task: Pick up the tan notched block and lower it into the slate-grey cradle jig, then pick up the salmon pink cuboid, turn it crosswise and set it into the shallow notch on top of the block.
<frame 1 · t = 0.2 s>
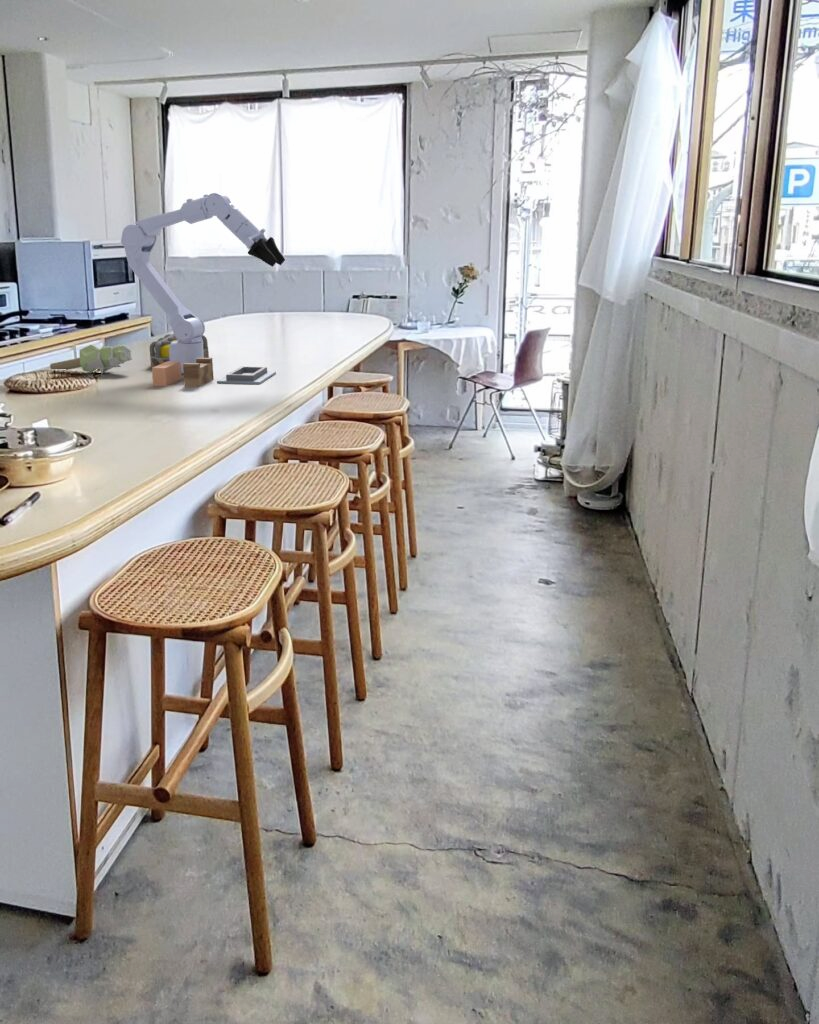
hand: (278, 263, 234), 31 cm above the table, fingers open, 7 cm apart
salmon pink cuboid: (167, 382, 232), on the table
decorative object: (92, 373, 244), on the table
cage light: (181, 363, 266), on the table
tan notched block: (199, 383, 231), on the table
jig: (247, 378, 238), on the table
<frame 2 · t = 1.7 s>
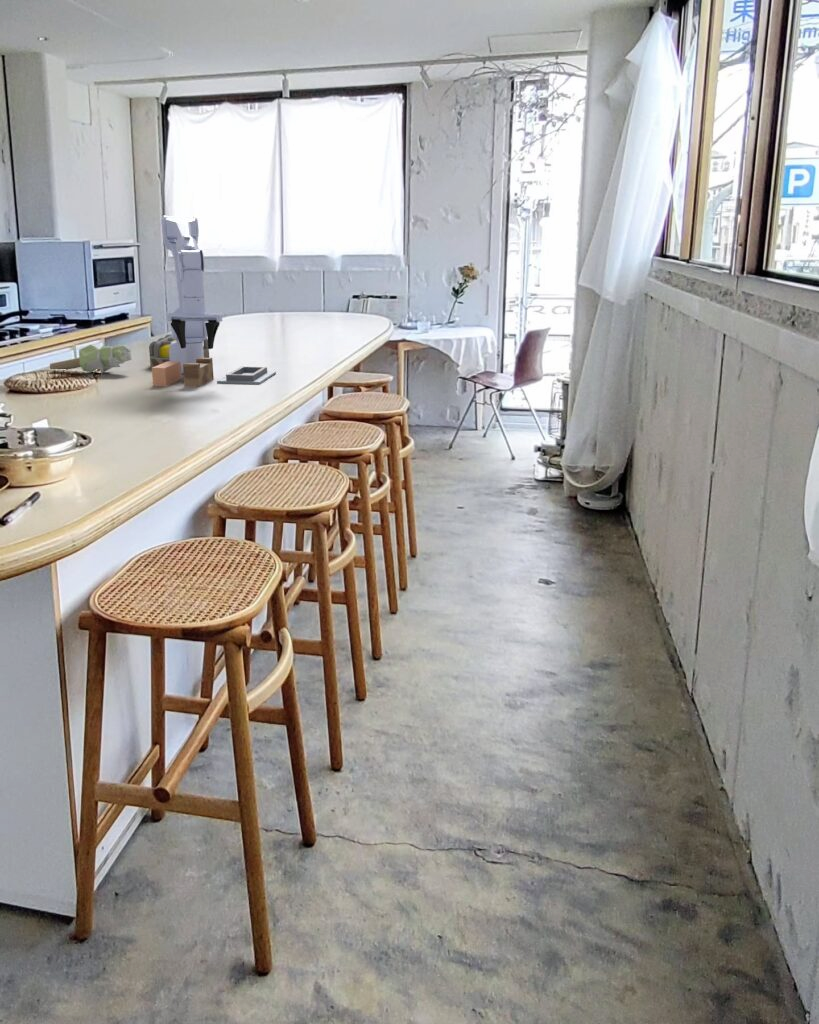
hand: (197, 348, 228), 9 cm above the table, fingers open, 7 cm apart
nothing on the table moved.
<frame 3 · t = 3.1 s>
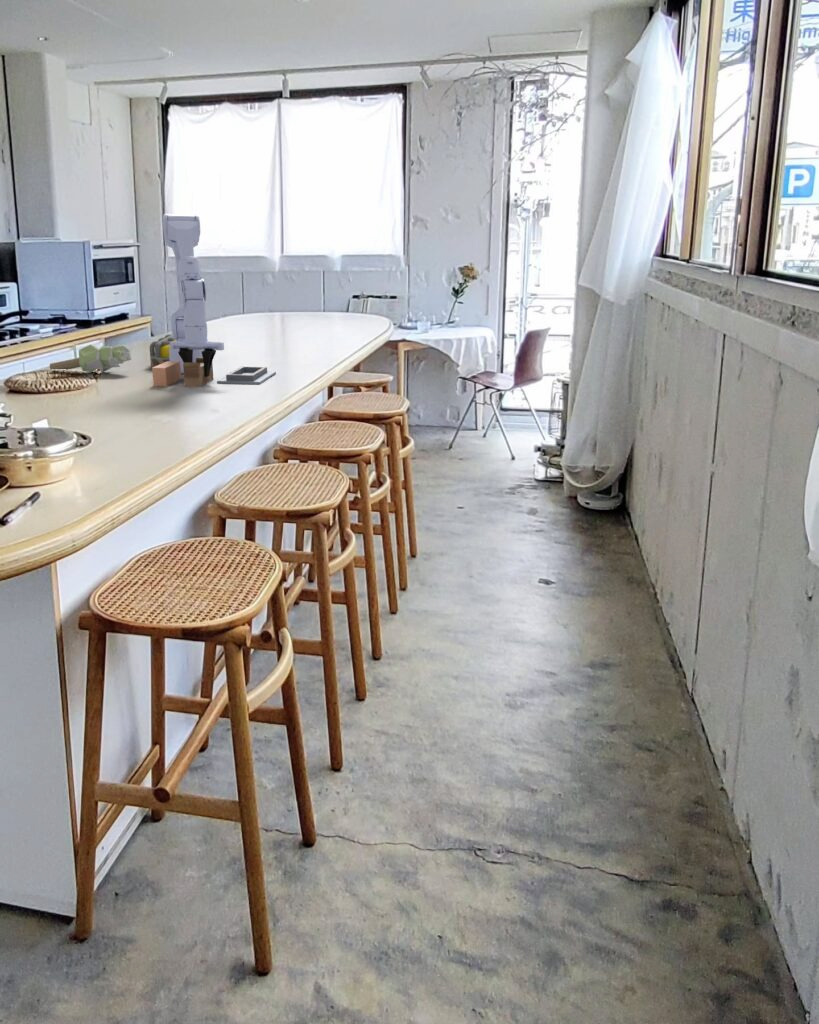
hand: (199, 376, 230), 2 cm above the table, fingers closed on tan notched block, 4 cm apart
tan notched block: (199, 382, 231), on the table, touching gripper
everything else where it was.
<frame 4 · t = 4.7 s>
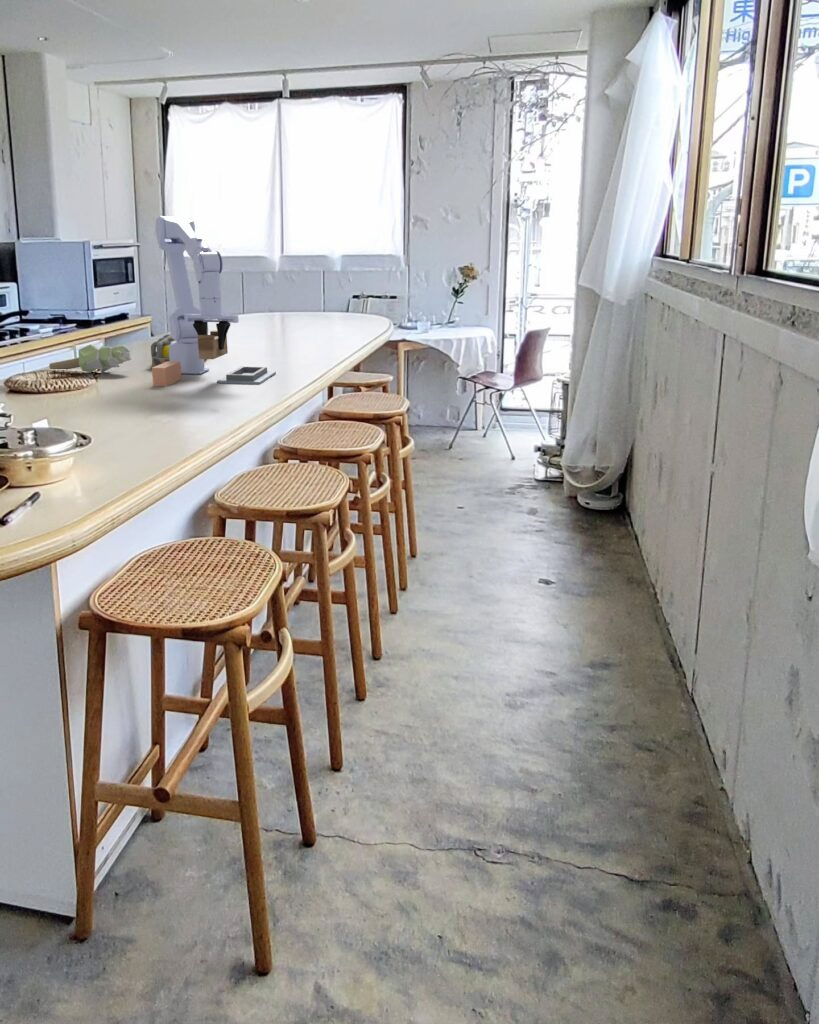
hand: (213, 349, 230), 9 cm above the table, fingers closed on tan notched block, 4 cm apart
tan notched block: (213, 356, 231), point 7 cm above the table, touching gripper
everything else where it was.
when the fingers open (4 cm above the table, at t = 6.6 s): tan notched block drops 1 cm, resting on jig.
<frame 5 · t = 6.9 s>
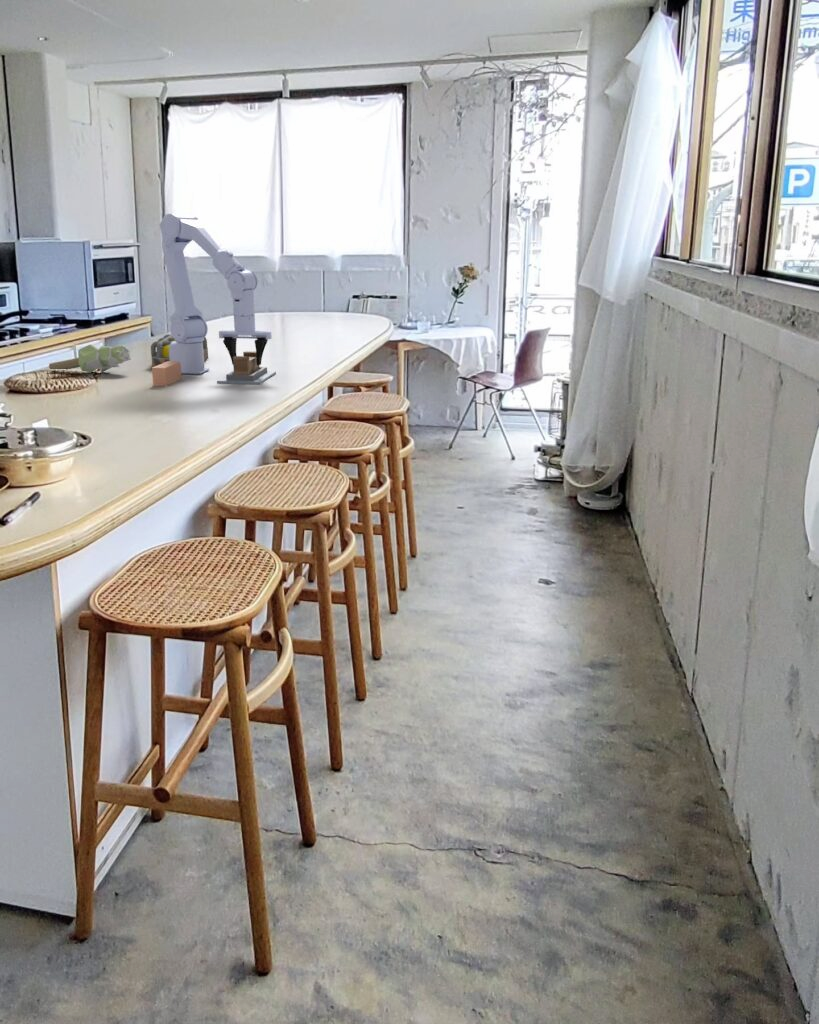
hand: (246, 364, 237), 4 cm above the table, fingers open, 6 cm apart
tan notched block: (247, 376, 238), point 1 cm above the table, touching jig
everything else where it was.
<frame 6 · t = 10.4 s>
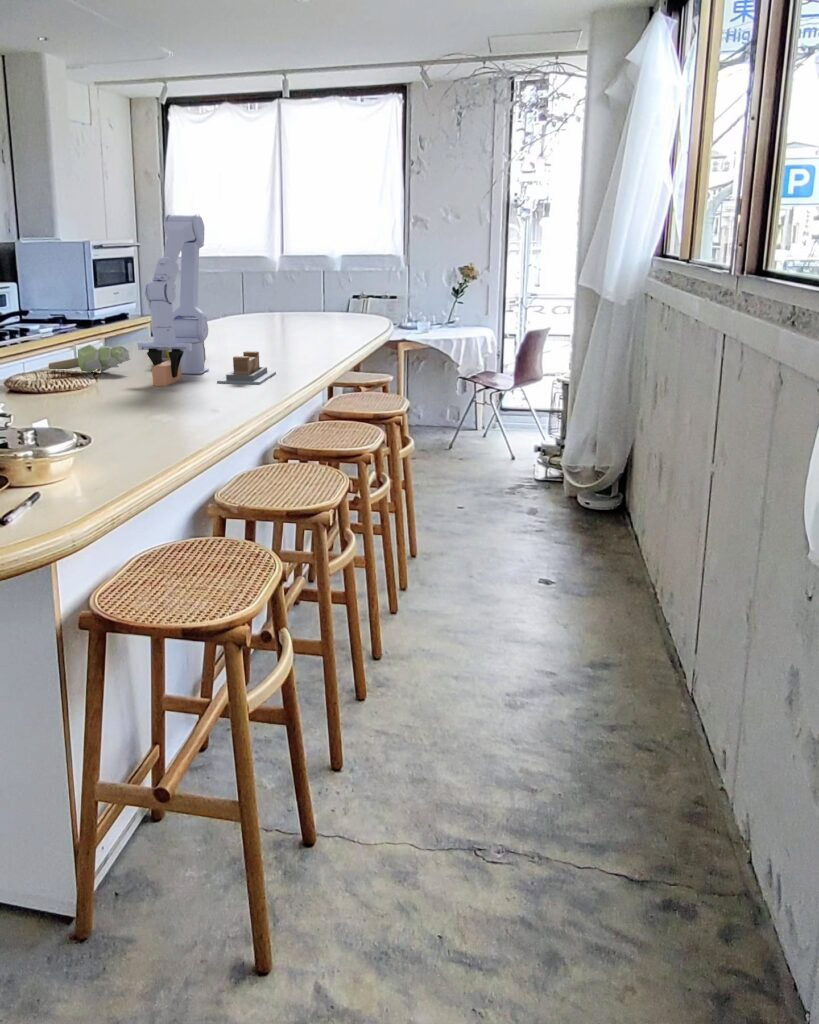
hand: (167, 376, 231), 1 cm above the table, fingers closed on salmon pink cuboid, 4 cm apart
salmon pink cuboid: (167, 381, 232), on the table, touching gripper
when the fingers open (8 cm above the table, at t = 14.1 s): salmon pink cuboid stays where it is, resting on tan notched block.
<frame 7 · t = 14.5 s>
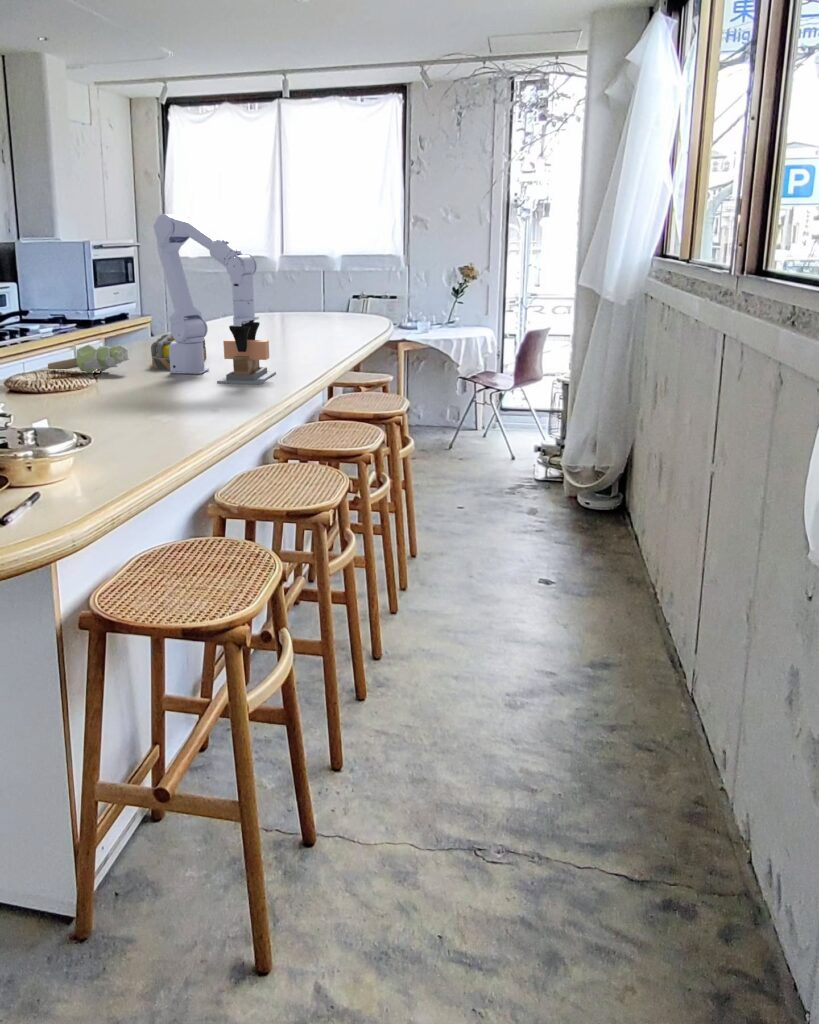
hand: (246, 349, 236), 8 cm above the table, fingers open, 7 cm apart
salmon pink cuboid: (247, 358, 236), point 6 cm above the table, touching tan notched block
tan notched block: (247, 376, 238), point 1 cm above the table, touching jig, salmon pink cuboid
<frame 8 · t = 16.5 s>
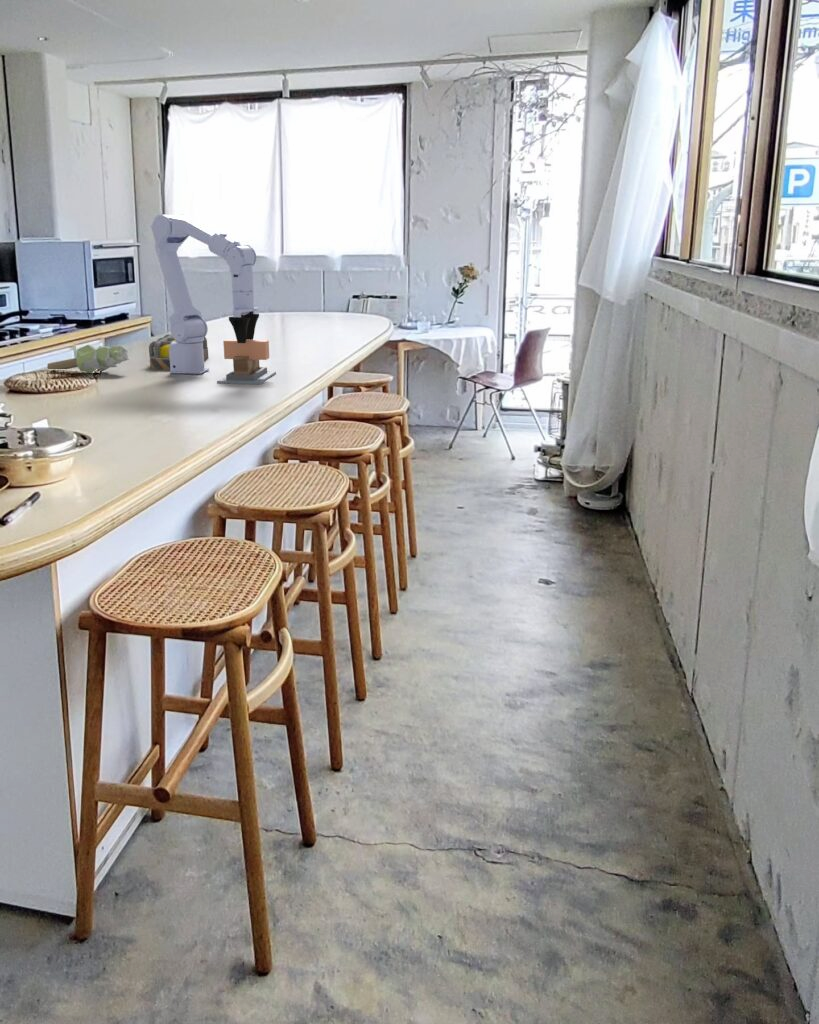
hand: (245, 341, 235), 10 cm above the table, fingers open, 7 cm apart
at the end: tan notched block 0.1 cm off-centre on the jig, point 0.6 cm above the jig's base; salmon pink cuboid 0.2 cm off-centre on the tan notched block, point 5.0 cm above the tan notched block's base; the gripper is holding nothing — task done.
